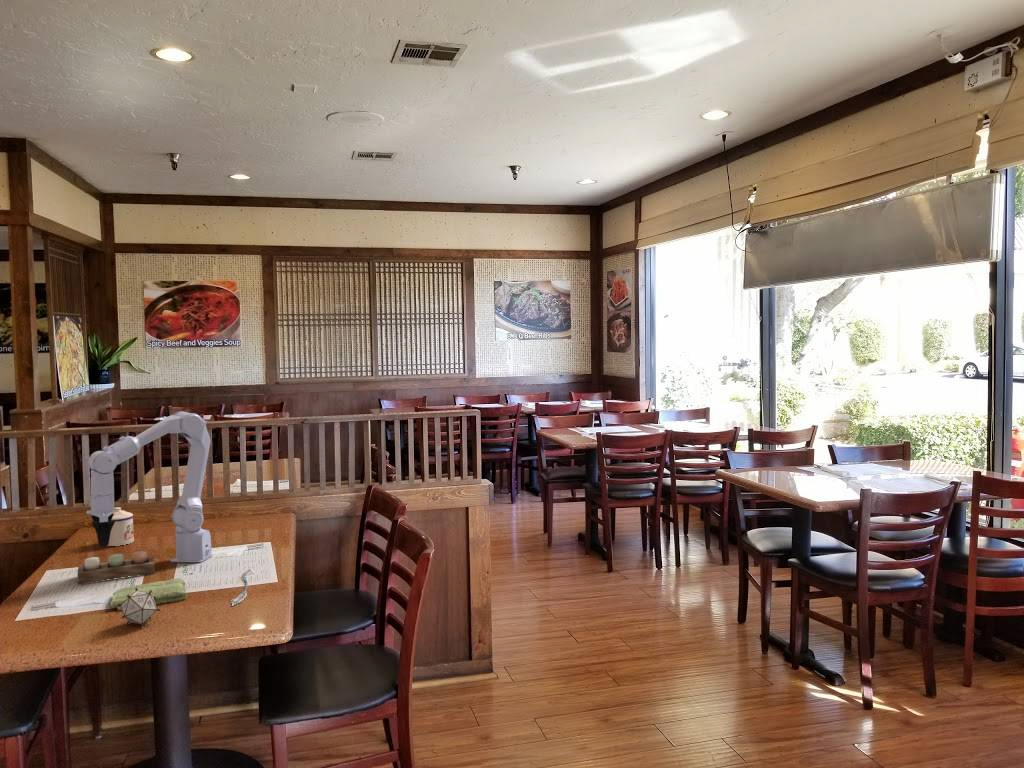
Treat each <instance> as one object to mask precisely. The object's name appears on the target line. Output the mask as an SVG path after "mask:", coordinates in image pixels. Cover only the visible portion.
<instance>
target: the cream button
mask: <svg viewBox="0 0 1024 768" xmlns="http://www.w3.org/2000/svg"><path fill="white" fill-rule="evenodd" d="M99 563H100V557H97V556H92V557H87V558H85V559H84V565H85V569H86V570H93V569H97V568H99V567H100V565H99Z"/></svg>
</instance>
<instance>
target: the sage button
mask: <svg viewBox="0 0 1024 768" xmlns="http://www.w3.org/2000/svg"><path fill="white" fill-rule="evenodd" d="M123 560H124V554H122V553H114V554H111V555H109V556H108V562H109V566H112V567H114V566H120V565H123V564H124V563H123Z"/></svg>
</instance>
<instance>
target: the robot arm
mask: <svg viewBox="0 0 1024 768" xmlns="http://www.w3.org/2000/svg"><path fill="white" fill-rule="evenodd" d="M167 434H180V435H181V436H183V437H184V438H185V439H186V441H188V442H189V444H190V448H189V455H188V460H187V464H186V465H187V466H186V471H185V477H184V481H183V487H182V493H181V496H180V497H179V499H178V500H177V503H176V506H175V508H174V509H173V511H172V513H171V521H172V523H173V524H174V525H175V529H174V531H175V536H174V537H175V557H174V558H172V559H171V560H170V563H202V562H204V561H205V560H208V559H209V558H210V557H211V556H213V553H212V539H211V538H212V536H211V533H210V530H208V529H203V528H202V526H203V525H204V518H205V516H204V515H203V510H204V509H203V503H202V500H201V497H202V491H203V486H204V482H205V475H206V468H207V463H208V457H209V452H210V447H211V442H212V441H211V437H210V434H209V432H208V427H207V422H206V421H205V420H204V418H202V417H201V415H199V414H197V413H193V412H191V413H190V412H188V411H177V412H175V413H174V414H171V415H169V416H167V417H165V418H163V419H162V420H161V421H159V422H157V423H155V424H153V425H152V426H150V427H148V428H147V429H145V430H144V431H143V432H141V433H139V434H137V435H136V436H131V435H127V436H121V437H119V439H118V440H117V441H115V442H114V443H112V444H111V445H109V446H107V445H105V446H104V447H102V449H103V450H97V451H94V452H93V453H92V454H90V456H89V458H88V461H87V462H86V463H87V466H88V468H89V469H90V510H86V515H91V516H90V517H91V520H92V521H91V525H92V527H93V528H94V530H95V533H96V537H97V543H98V546H99V547H109V546H108V544H109V539H110V533H111V530H112V527H113V525H114V523H115V520H112V521H111V519H112V517H113V515H114V514H113V513H114V512H115V509H114V508H115V478H114V471H115V469H116V468H117V466H118V465H120V464H122V463H124V462H125V461H127V460H129V459H131V458H133V457H134V456H136V455H138V454H139V453H140V451H141V449H142V447H144V446H145V445H147V444H149V443H151V442H154V441H155V440H157V439H159V438H161V437H163V436H165V435H167Z"/></svg>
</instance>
